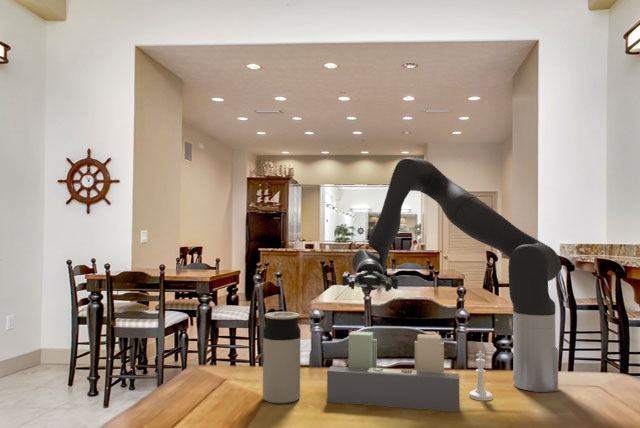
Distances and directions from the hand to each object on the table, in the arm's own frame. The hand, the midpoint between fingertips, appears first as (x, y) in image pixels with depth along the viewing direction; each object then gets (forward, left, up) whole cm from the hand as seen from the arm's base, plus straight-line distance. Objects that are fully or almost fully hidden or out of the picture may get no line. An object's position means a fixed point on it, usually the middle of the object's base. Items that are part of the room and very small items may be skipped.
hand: (370, 286), depth 131 cm
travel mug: (+17, +20, -23) cm, 35 cm away
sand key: (-14, +10, -20) cm, 27 cm away
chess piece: (-25, +9, -23) cm, 35 cm away
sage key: (+1, +10, -20) cm, 23 cm away
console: (-7, +14, -22) cm, 27 cm away
